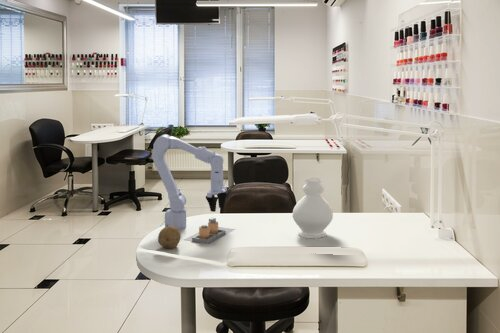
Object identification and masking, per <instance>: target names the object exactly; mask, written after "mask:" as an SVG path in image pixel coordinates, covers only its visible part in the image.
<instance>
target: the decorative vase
mask: <svg viewBox="0 0 500 333" xmlns="http://www.w3.org/2000/svg"><path fill="white" fill-rule="evenodd" d="M304 182H305V184H304V185H303V186H302V191H303V192H304V193H305V195H304V196H303V197H301V198H300V199H299V200H298V201H297V203H296V204H295V205H294V207H293V209H292V219H293V221H294V222H295V224H296V225H297V227H299V229H300V230H299V231H298V232H297V234H298V236H300V237H302V238H305V239H322V238H325V237H326V236H327V232H326V231H325V230H326V228H327V227H328V226H329V225H330V223H331V222H332V220H333V216H334V215H333V209H332V207H331V205H330V204H329V202H328V201H327V200H326V199H325V198H324V197H323V196H322V193H323V192H324V191H325V187H324V185H323V184H322V182H323V179H322V178H318V177H306V178H305V179H304ZM324 236H325V237H324ZM321 237H322V238H321Z"/></svg>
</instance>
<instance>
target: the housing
mask: <svg viewBox="0 0 500 333" xmlns="http://www.w3.org/2000/svg"><path fill="white" fill-rule="evenodd" d="M235 230H236V228H230V227H222V226H218V234H211V233H210V238H209V239H201V238H199V231H198V232H197V233H195V234H192V235H190V236H188V237H187V238H184V239H183V240H184V241H187V242H194V243H199V244H204V245H205V244H206V245H210V244H212V243H214V242H215V241H217V240H219V239H220V238H223V237H225V236H226V235H228V234H230V233H231V232H233V231H235Z"/></svg>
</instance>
